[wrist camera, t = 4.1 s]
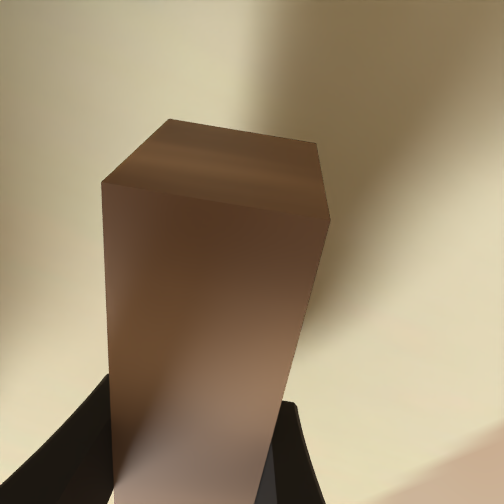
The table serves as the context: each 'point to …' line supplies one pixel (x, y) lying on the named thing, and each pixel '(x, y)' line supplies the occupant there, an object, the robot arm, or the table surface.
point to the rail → (205, 305)
